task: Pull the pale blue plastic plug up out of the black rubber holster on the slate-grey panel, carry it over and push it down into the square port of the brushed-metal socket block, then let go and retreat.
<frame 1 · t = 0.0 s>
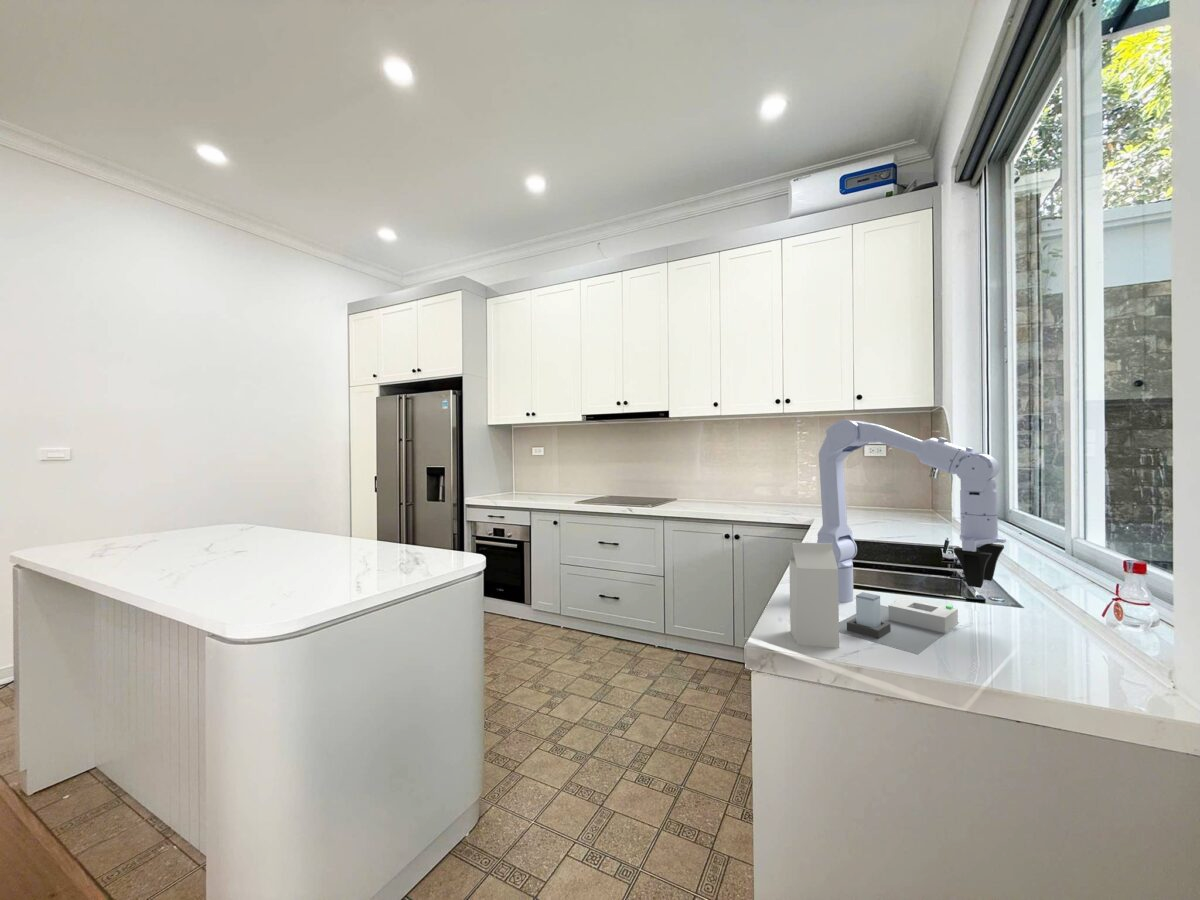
hand: (979, 583, 93), 10 cm above the countertop, fingers open, 7 cm apart
plug: (868, 631, 93), point 1 cm above the countertop, touching panel
panel: (893, 629, 96), on the countertop
milk carton: (813, 644, 90), on the countertop
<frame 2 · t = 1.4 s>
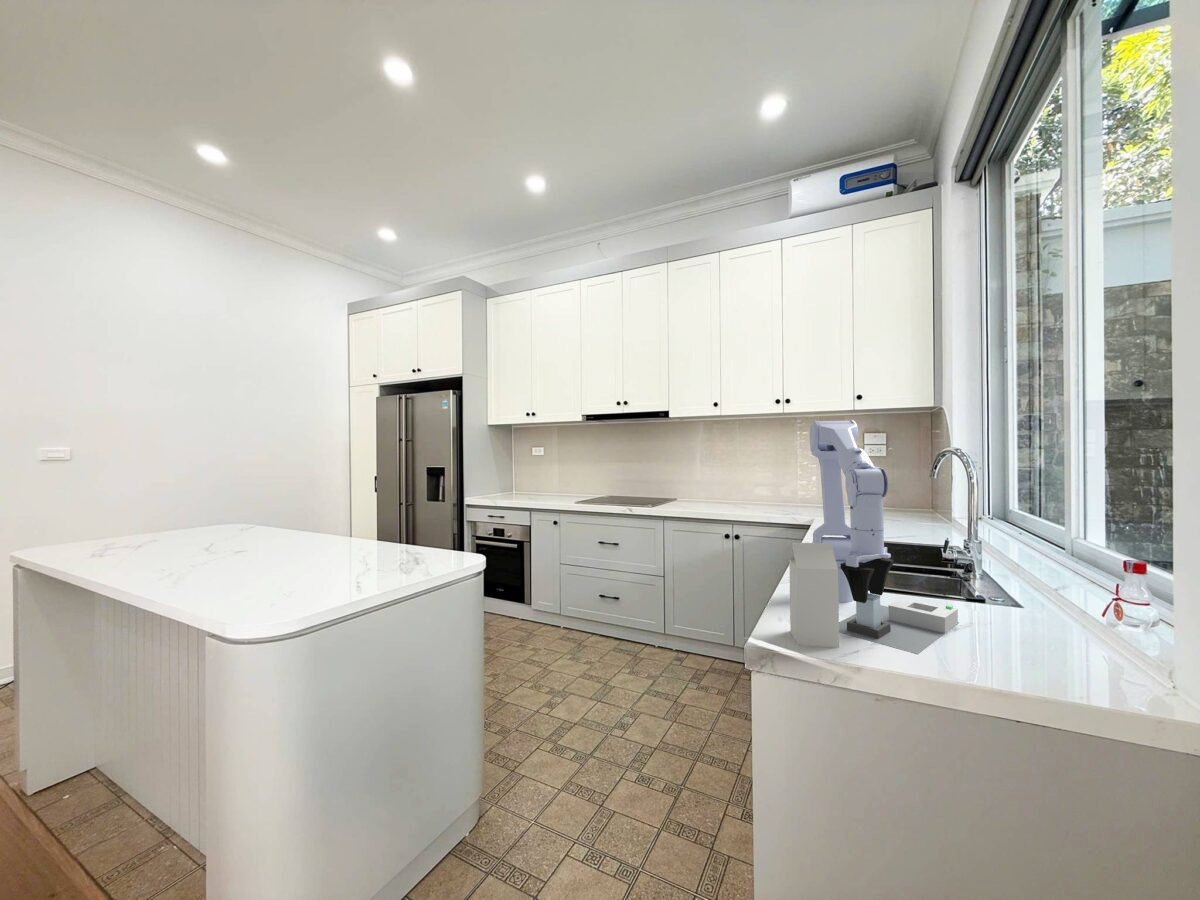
hand: (868, 597, 93), 7 cm above the countertop, fingers open, 7 cm apart
nothing on the countertop moved.
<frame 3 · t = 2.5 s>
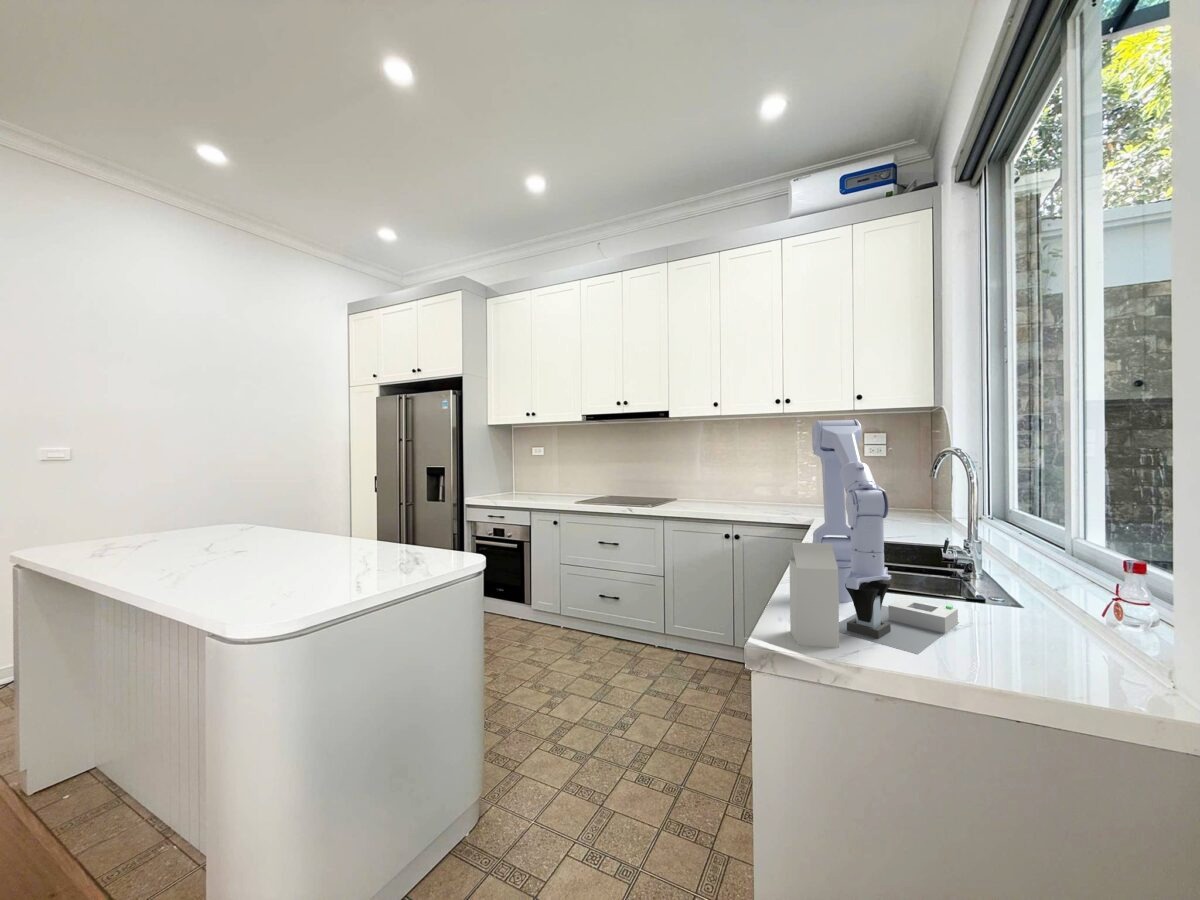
hand: (868, 618, 93), 3 cm above the countertop, fingers closed on plug, 3 cm apart
plug: (868, 631, 93), point 1 cm above the countertop, touching gripper, panel
everything else where it was.
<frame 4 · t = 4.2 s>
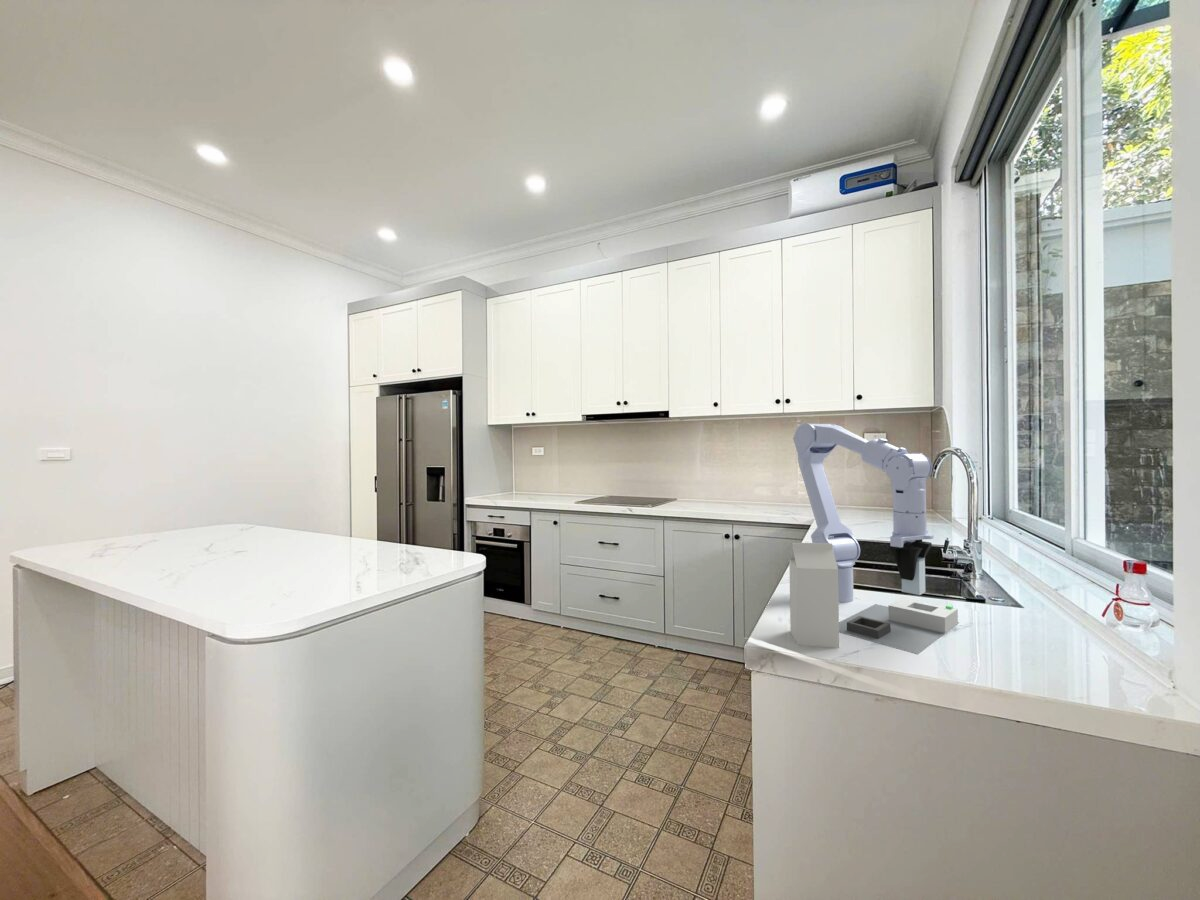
hand: (910, 577, 97), 10 cm above the countertop, fingers closed on plug, 3 cm apart
plug: (913, 591, 97), point 7 cm above the countertop, touching gripper
everything else where it was.
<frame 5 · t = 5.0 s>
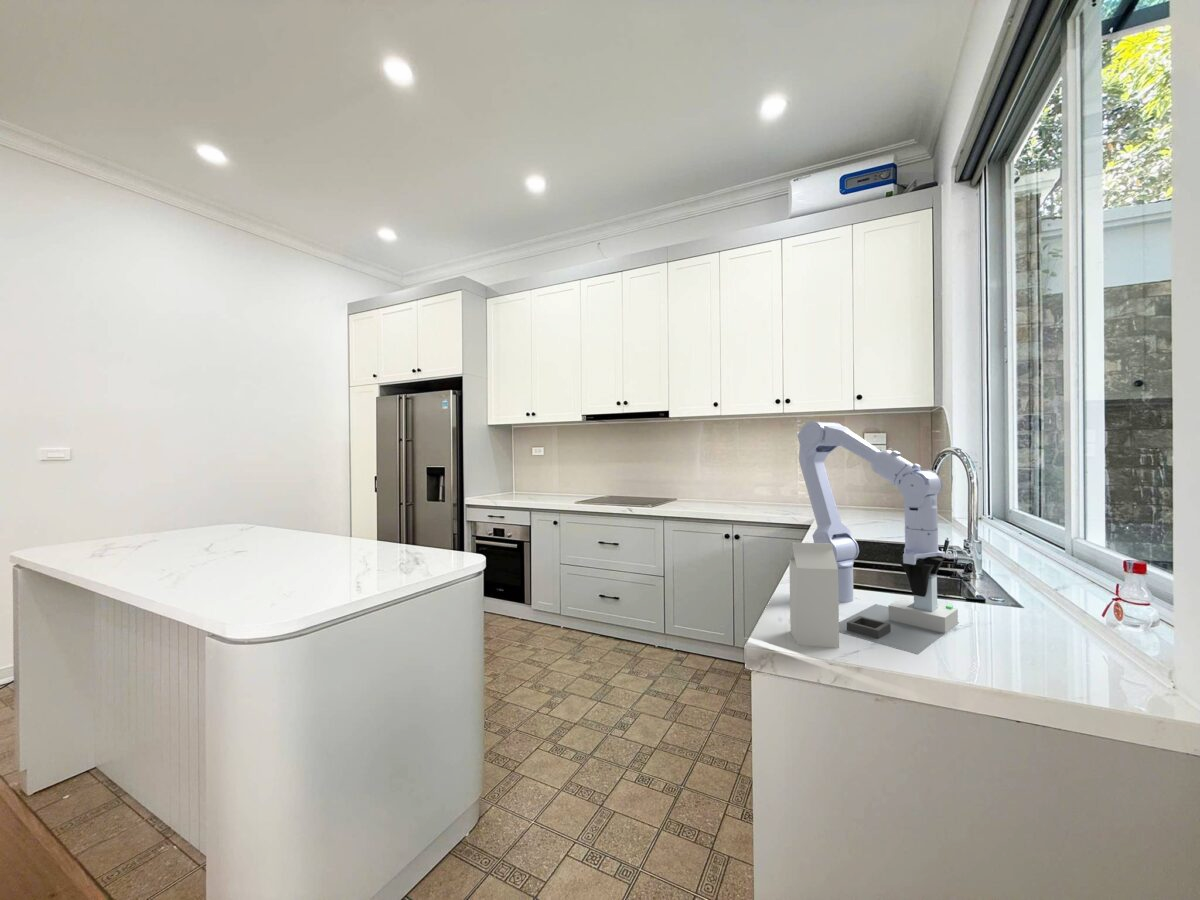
hand: (922, 593, 98), 7 cm above the countertop, fingers closed on plug, 3 cm apart
plug: (925, 608, 98), point 4 cm above the countertop, touching gripper
everything else where it was.
when the fingers open (4 cm above the countertop, at t = 5.8 s): plug stays where it is, resting on panel.
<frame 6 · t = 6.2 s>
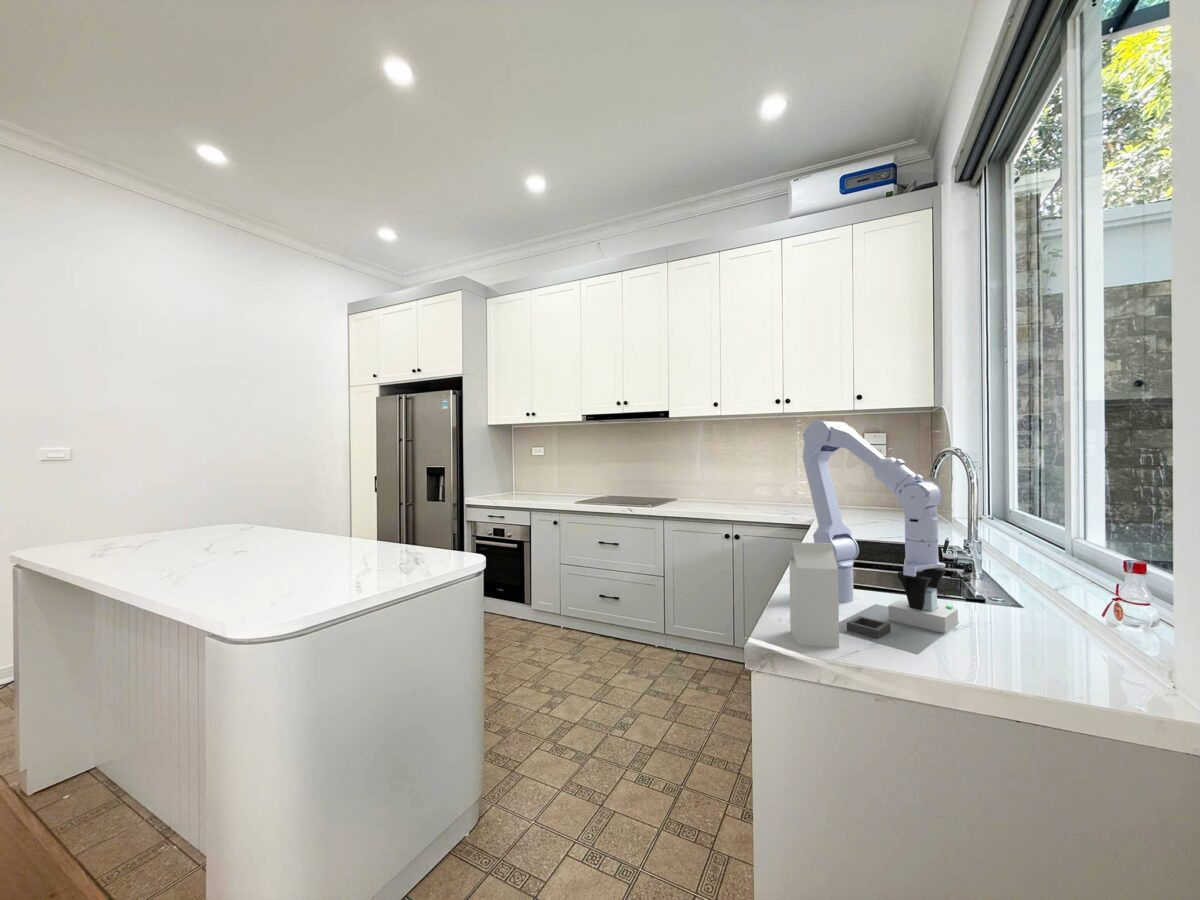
hand: (922, 605, 98), 4 cm above the countertop, fingers open, 7 cm apart
plug: (925, 622, 98), point 1 cm above the countertop, touching panel
everything else where it was.
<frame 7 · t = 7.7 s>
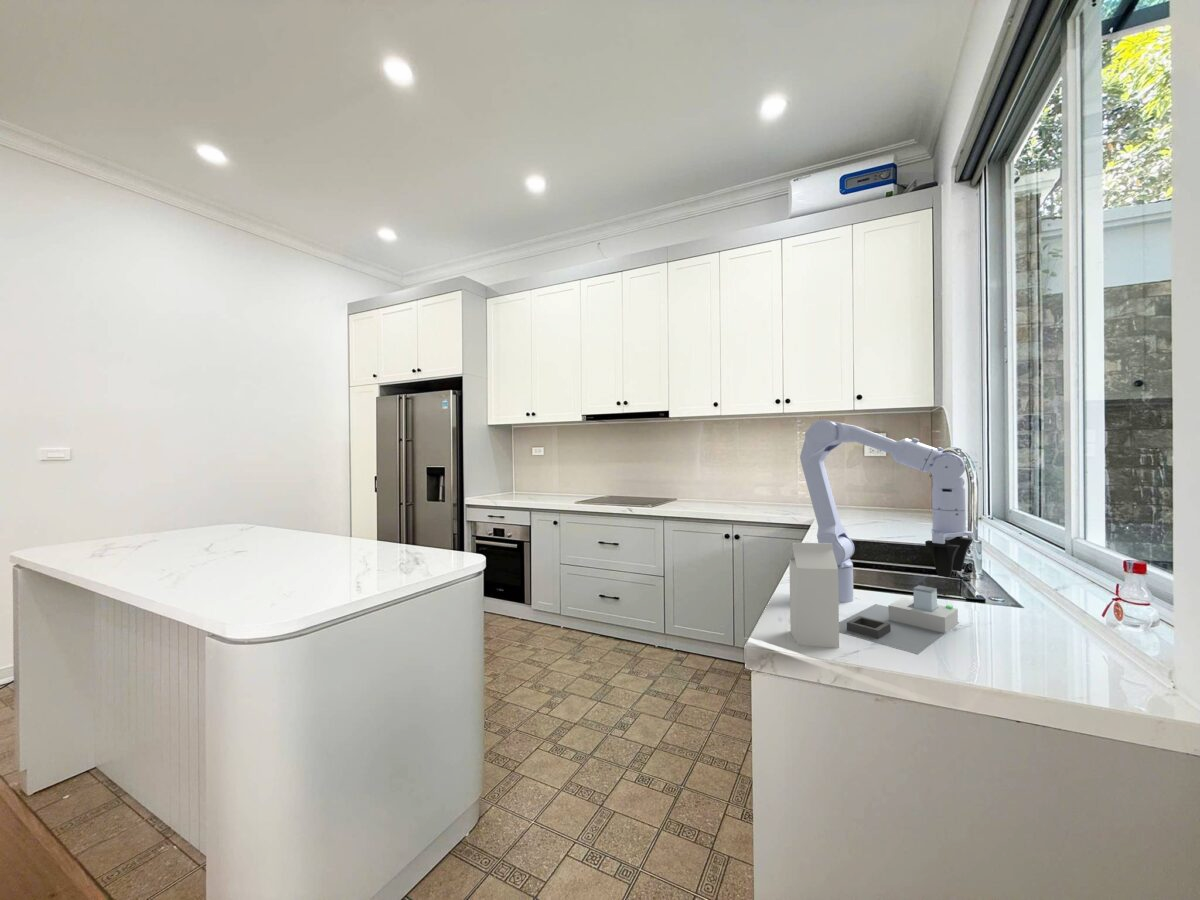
hand: (949, 573, 100), 10 cm above the countertop, fingers open, 7 cm apart
nothing on the countertop moved.
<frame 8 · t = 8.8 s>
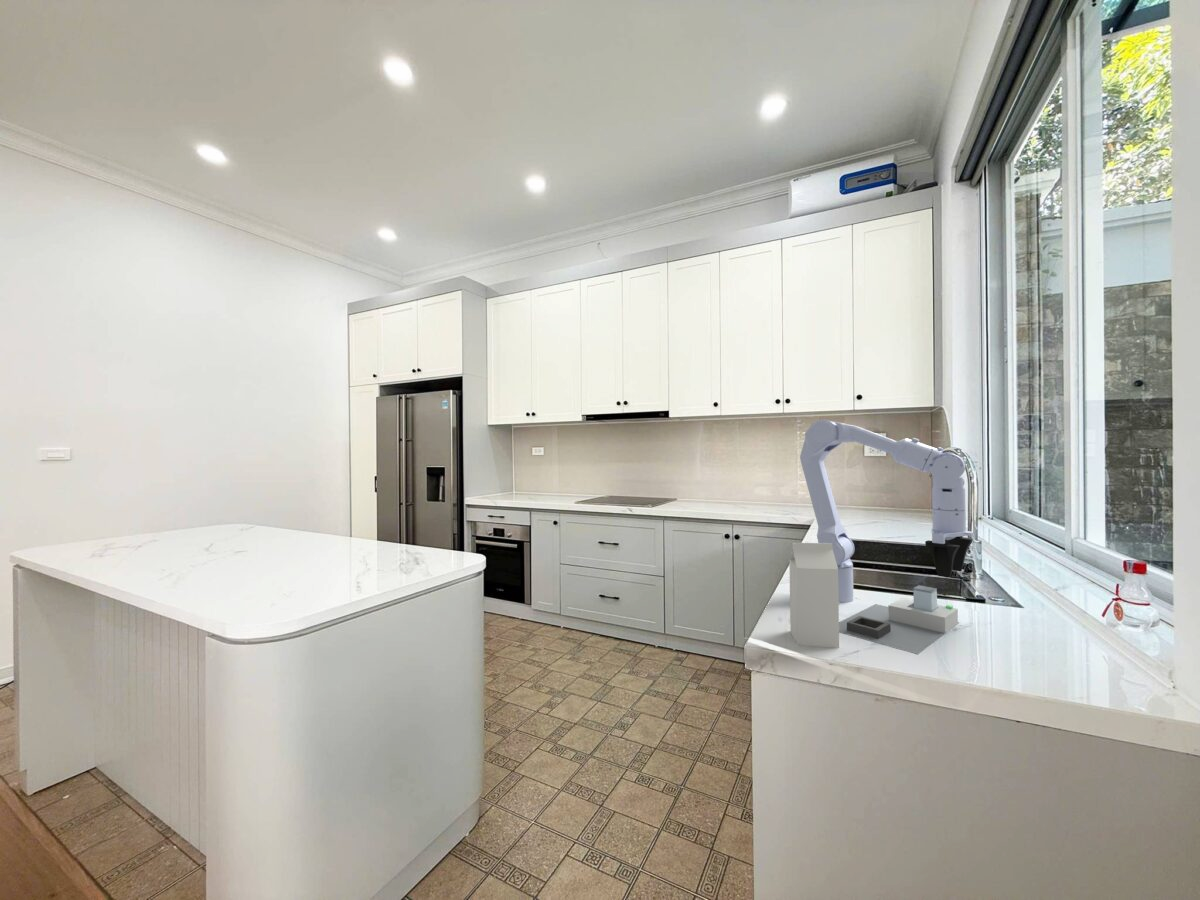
hand: (949, 573, 100), 10 cm above the countertop, fingers open, 7 cm apart
nothing on the countertop moved.
at the end: plug 0.5 cm from the target spot on the panel, point 0.8 cm above the panel's base; plug tilted 0°; the gripper is holding nothing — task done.
